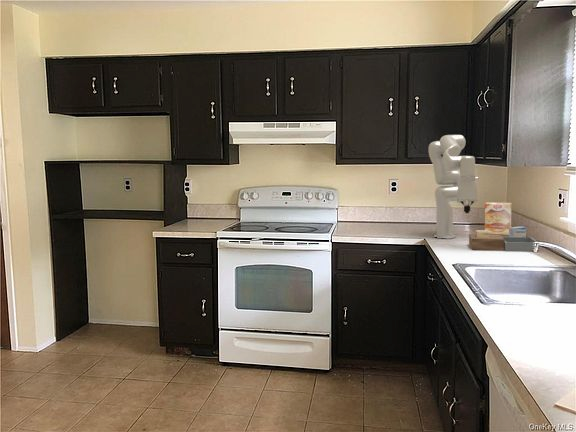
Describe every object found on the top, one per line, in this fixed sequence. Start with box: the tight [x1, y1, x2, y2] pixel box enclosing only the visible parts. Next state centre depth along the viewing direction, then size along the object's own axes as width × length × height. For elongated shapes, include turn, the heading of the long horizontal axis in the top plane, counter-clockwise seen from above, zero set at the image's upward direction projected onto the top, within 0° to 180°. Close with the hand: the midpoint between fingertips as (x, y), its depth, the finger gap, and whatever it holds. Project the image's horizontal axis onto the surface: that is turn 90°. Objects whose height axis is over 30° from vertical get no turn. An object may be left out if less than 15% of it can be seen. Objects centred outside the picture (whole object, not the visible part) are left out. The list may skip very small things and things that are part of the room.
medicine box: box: [508, 226, 527, 237], centre depth 281 cm, size 8×4×9 cm, turn 105°
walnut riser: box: [468, 233, 505, 252], centre depth 268 cm, size 16×16×6 cm
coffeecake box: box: [484, 202, 513, 236], centre depth 312 cm, size 15×7×20 cm, turn 62°
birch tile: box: [475, 229, 489, 238], centre depth 268 cm, size 6×6×3 cm
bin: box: [502, 236, 540, 253], centre depth 264 cm, size 18×16×4 cm
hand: (467, 213), depth 268 cm, fingers closed
